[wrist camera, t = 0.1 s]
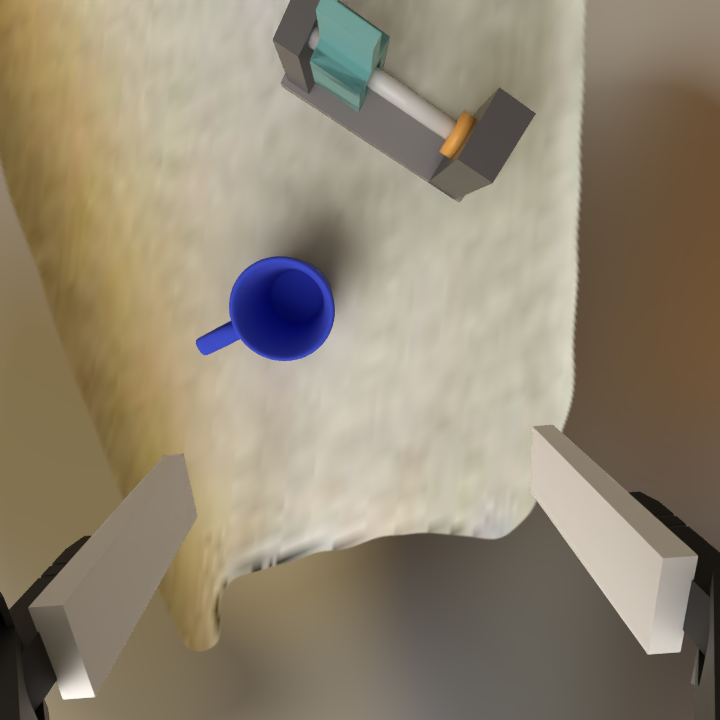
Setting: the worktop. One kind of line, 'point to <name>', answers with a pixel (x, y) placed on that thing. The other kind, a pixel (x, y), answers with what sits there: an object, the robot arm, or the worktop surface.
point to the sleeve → (346, 52)
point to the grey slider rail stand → (406, 116)
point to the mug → (276, 311)
